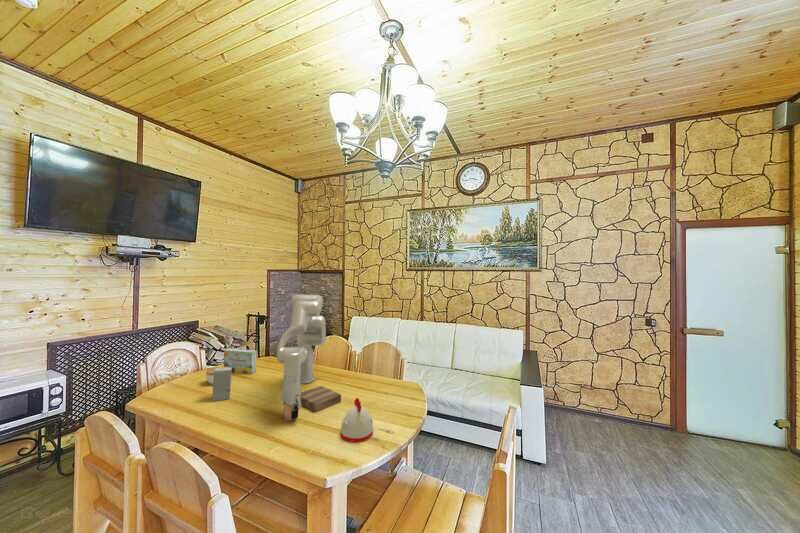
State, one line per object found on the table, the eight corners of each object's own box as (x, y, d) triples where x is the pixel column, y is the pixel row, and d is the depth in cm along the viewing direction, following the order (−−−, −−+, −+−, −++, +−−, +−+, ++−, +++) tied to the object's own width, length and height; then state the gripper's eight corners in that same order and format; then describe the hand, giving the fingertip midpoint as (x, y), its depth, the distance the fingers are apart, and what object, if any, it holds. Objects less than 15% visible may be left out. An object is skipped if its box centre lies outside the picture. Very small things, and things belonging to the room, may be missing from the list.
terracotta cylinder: (281, 418, 142) (282, 403, 142) (293, 413, 146) (293, 399, 146) (288, 422, 138) (288, 407, 138) (299, 417, 143) (300, 403, 143)
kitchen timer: (344, 445, 121) (345, 408, 122) (337, 428, 134) (338, 394, 134) (377, 438, 127) (378, 402, 127) (367, 422, 140) (368, 390, 140)
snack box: (222, 372, 201) (223, 349, 202) (228, 369, 207) (229, 347, 207) (251, 374, 198) (251, 351, 198) (256, 371, 204) (257, 349, 204)
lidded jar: (229, 382, 184) (230, 367, 184) (211, 387, 175) (211, 371, 175) (220, 378, 190) (221, 363, 190) (202, 383, 181) (202, 368, 181)
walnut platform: (295, 401, 160) (295, 394, 160) (320, 392, 172) (320, 385, 172) (315, 412, 148) (315, 404, 148) (340, 402, 160) (341, 394, 161)
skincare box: (211, 402, 157) (212, 371, 157) (213, 396, 163) (214, 367, 163) (230, 399, 161) (231, 369, 161) (230, 394, 167) (231, 365, 167)
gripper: (275, 375, 145) (274, 412, 145) (294, 384, 134) (293, 425, 134) (289, 371, 151) (288, 407, 151) (309, 380, 140) (308, 419, 140)
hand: (290, 415), depth 142 cm, fingers closed on terracotta cylinder, 6 cm apart
